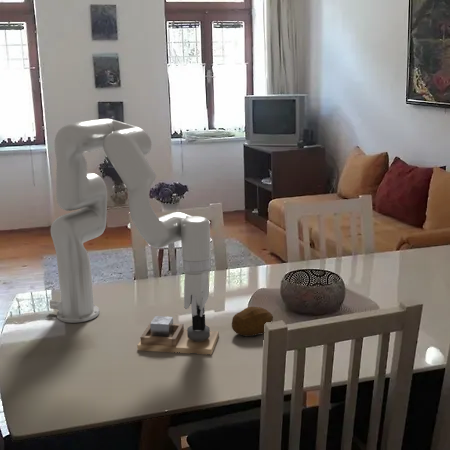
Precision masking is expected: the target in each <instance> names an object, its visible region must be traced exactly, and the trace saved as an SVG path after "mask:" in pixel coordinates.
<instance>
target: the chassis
mask: <svg viewBox="0 0 450 450" xmlns="http://www.w3.org/2000/svg"><path fill="white" fill-rule="evenodd" d="M151 322H152V321H150V322H149V324H148V325H147V327H146V328H145V330H144V331H143V333H142V334H141V335H140V340H139V342H138V343H137V344H136V347H137V351H143V352H156V353H157V352H158V353H159V352H161V353H174V352H175V353H176V354H190V353H197V354H196V355H207V354H210V355H213V352H214V349H215V348H216V345H217V342H218V340H219V335H220V334H219V332H220V331H213V330H210V337H209V338H208V339H206V340H202V341H194V340H190V339H189V338H188V336H187V329H184V323H173V330H174V334H173V336H172V337H158V336H151V327H150V323H151ZM177 352H178V353H177ZM179 352H180V353H179Z"/></svg>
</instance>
